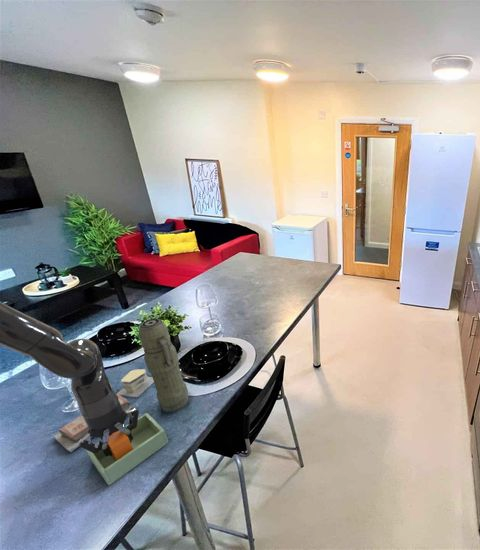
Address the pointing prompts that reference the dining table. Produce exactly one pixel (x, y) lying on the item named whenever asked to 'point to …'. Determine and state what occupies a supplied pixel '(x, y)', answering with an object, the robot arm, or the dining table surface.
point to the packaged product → (80, 429)
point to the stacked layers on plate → (135, 383)
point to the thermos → (163, 365)
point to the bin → (144, 445)
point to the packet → (119, 445)
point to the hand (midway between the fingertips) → (119, 447)
